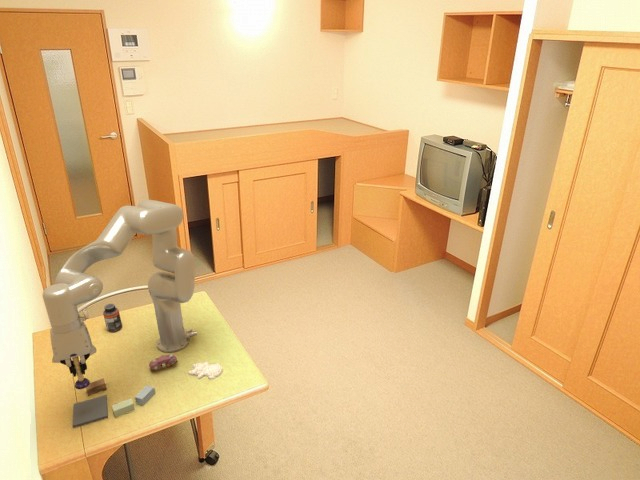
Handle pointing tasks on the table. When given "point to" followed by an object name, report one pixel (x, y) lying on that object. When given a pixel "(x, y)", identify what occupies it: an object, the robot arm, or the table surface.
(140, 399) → the brick
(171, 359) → the video game controller
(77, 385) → the toy lamp
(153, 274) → the robot arm
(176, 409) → the table surface
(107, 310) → the supplement bottle
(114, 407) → the brick
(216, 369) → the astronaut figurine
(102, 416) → the pad
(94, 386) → the brick
